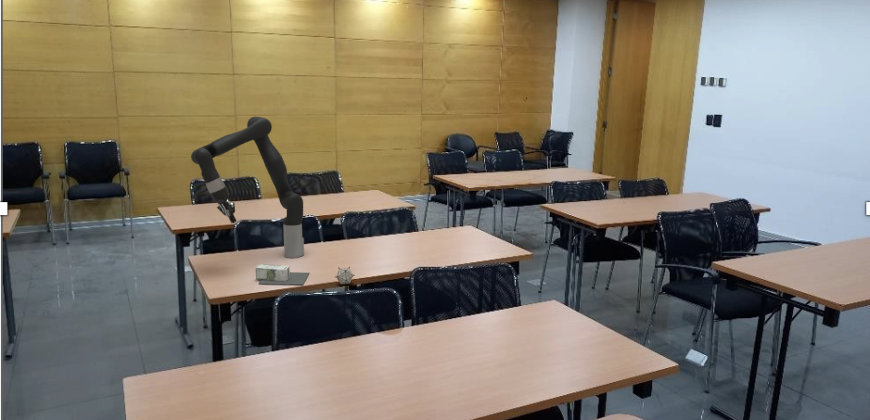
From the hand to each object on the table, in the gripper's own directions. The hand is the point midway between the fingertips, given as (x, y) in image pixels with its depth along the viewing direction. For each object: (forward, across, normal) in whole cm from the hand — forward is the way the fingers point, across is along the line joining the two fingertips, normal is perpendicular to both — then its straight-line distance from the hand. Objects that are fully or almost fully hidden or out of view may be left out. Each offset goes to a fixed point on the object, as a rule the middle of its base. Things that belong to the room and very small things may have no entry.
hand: (234, 222), depth 291 cm
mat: (+32, -16, -1) cm, 36 cm away
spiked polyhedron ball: (+43, -40, -14) cm, 60 cm away
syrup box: (+24, -9, +5) cm, 26 cm away
